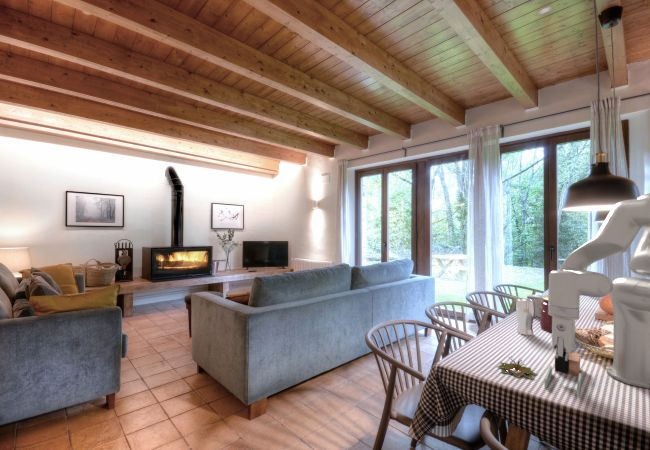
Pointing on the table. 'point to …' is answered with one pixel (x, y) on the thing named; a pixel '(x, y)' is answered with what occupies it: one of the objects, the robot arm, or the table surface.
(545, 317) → the canister
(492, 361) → the table surface
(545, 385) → the pair of grey-green bars
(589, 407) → the table surface
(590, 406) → the table surface
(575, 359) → the terracotta block
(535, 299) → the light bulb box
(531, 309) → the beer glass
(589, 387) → the table surface
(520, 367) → the green twiggy clump
